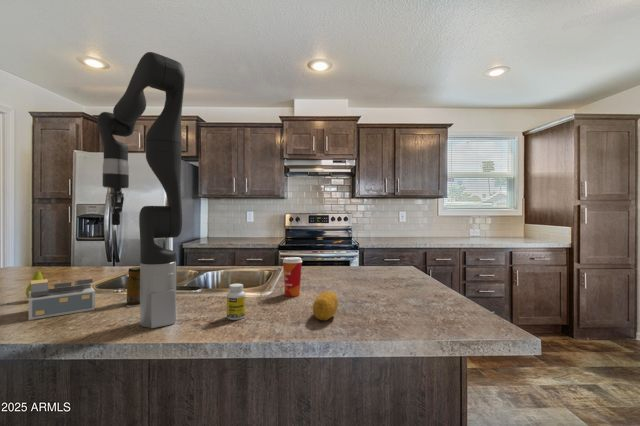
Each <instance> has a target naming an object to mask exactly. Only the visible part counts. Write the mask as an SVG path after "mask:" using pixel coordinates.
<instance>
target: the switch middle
mask: <svg viewBox="0 0 640 426" xmlns="http://www.w3.org/2000/svg"><path fill="white" fill-rule="evenodd" d="M52 284H53V286H52V287H53V288H62V287H70V286H72V282H71V281H62V282H53V283H52Z"/></svg>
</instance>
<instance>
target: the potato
mask: <svg viewBox="0 0 640 426" xmlns="http://www.w3.org/2000/svg"><path fill="white" fill-rule="evenodd" d="M338 308H339V300H338V297H337V295H336V294H335V292H333V291H328V290H327V291H323V292H321V293H320V294H319V295H318V296H317V297H316V298H315V300H314V301H313V304H312V313H313V315H314V316H315V318H316V319H318V320H320V321H328V320H329V319H330V318H332V317H333V316H334V315H335V314H336V312H337V310H338Z"/></svg>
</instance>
